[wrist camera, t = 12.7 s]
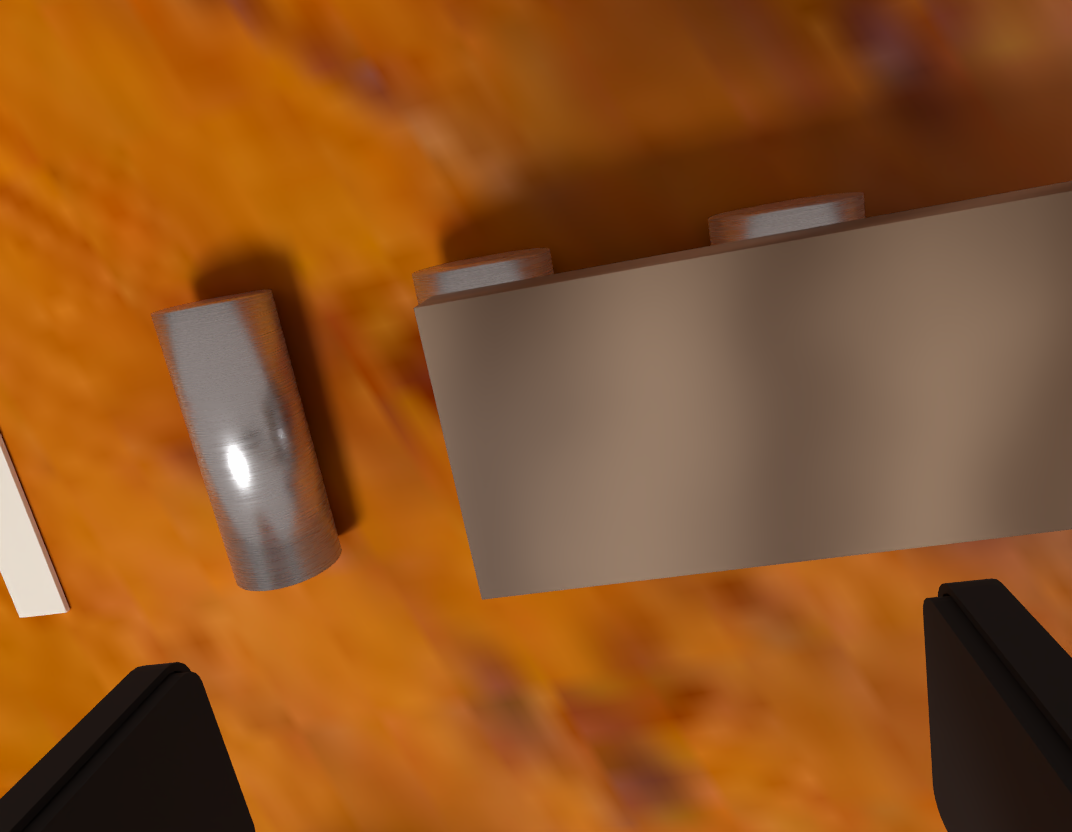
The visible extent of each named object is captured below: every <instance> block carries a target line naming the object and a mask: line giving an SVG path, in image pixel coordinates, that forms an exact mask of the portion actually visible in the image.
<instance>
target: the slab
mask: <svg viewBox="0 0 1072 832" xmlns="http://www.w3.org/2000/svg"><path fill="white" fill-rule="evenodd" d="M414 311H415V315H416V320H417V324H418V328H419V332H420V337H421V341H422V345H423V349H424V354H425V358H426V362H427V367H428V371H429V375H430V379H431V384H432V388H433V392H434V396H435V401H436V405H437V409H438V414H439V418H440V422H441V426H442V431H443V435H444V439H445V443H446V448H447V452H448V456H449V460H450V465H451V469H452V473H453V478H454V482H455V486H456V490H457V495H458V499H459V503H460V507H461V512H462V516H463V520H464V524H465V529H466V533H467V537H468V542H469V546H470V550H471V554H472V559H473V563H474V567H475V571H476V576H477V580H478V584H479V588H480V593H481V597H482V599H490V598H498V597H507V596H515V595H524V594H532V593H540V592H549V591H557V590H566V589H574V588H582V587H591V586H599V585H608V584H616V583H624V582H633V581H641V580H650V579H658V578H666V577H675V576H683V575H692V574H700V573H708V572H717V571H725V570H734V569H742V568H750V567H759V566H767V565H776V564H784V563H792V562H801V561H809V560H817V559H826V558H834V557H843V556H851V555H859V554H868V553H876V552H885V551H893V550H901V549H910V548H918V547H927V546H935V545H943V544H952V543H960V542H969V541H977V540H985V539H994V538H1002V537H1011V536H1019V535H1027V534H1036V533H1044V532H1053V531H1061V530H1069V529H1072V181H1068V182H1063V183H1057V184H1052V185H1046V186H1040V187H1035V188H1029V189H1024V190H1018V191H1013V192H1007V193H1002V194H996V195H990V196H985V197H979V198H974V199H968V200H963V201H957V202H952V203H946V204H940V205H935V206H929V207H924V208H918V209H913V210H907V211H901V212H896V213H890V214H885V215H879V216H874V217H868V218H863V219H857V220H851V221H846V222H840V223H835V224H829V225H824V226H818V227H813V228H808V229H802V230H796V231H791V232H785V233H779V234H774V235H768V236H763V237H757V238H751V239H746V240H740V241H735V242H729V243H724V244H718V245H713V246H707V247H701V248H696V249H690V250H685V251H679V252H674V253H668V254H662V255H657V256H651V257H646V258H640V259H635V260H629V261H624V262H618V263H612V264H607V265H601V266H596V267H590V268H585V269H579V270H574V271H568V272H562V273H557V274H551V275H546V276H540V277H535V278H529V279H524V280H518V281H512V282H507V283H501V284H496V285H490V286H485V287H479V288H474V289H468V290H462V291H457V292H451V293H446V294H440V295H435V296H431V297H430V298H428V299H427V300H425V301H424V302H422V303H421V304H419V305H418V306H416V307H415V308H414Z"/></svg>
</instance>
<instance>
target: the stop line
mask: <svg viewBox="0 0 1072 832" xmlns="http://www.w3.org/2000/svg"><path fill="white" fill-rule="evenodd" d="M0 571H1V574H2V576H3V579H4V581H5V583H6V586H7V588H8V590H9V593H10V595H11V598H12V600H13V602H14V605H15V607H16V609H17V612H18V614H19V617H20V618H21V617H30V616H40V615H49V614H58V613H67V612H68V611H69V610H70V608H69V606H68V603H67V600H66V598H65V595H64V593H63V590H62V588H61V585H60V583H59V580H58V578H57V575H56V573H55V570H54V568H53V565H52V563H51V560H50V558H49V555H48V553H47V550H46V547H45V545H44V542H43V540H42V537H41V535H40V532H39V530H38V527H37V525H36V522H35V520H34V517H33V515H32V512H31V510H30V507H29V505H28V502H27V500H26V497H25V494H24V492H23V489H22V487H21V484H20V482H19V479H18V477H17V474H16V472H15V469H14V467H13V464H12V462H11V459H10V457H9V454H8V452H7V449H6V447H5V444H4V441H3V439H2V436H1V434H0Z"/></svg>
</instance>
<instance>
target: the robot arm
mask: <svg viewBox="0 0 1072 832" xmlns="http://www.w3.org/2000/svg"><path fill="white" fill-rule="evenodd" d="M923 617H924V635H925V652H926V670H927V688H928V705H929V723H930V741H931V758H932V776H933V789H934V795H935V799H936V803H937V807H938V810H939V813H940V816H941V818H942V821H943V823H944V825H945V827H946V829H947V831H948V832H1072V658H1071V657H1070V656H1069V655H1068V653H1067V652H1066V651H1065V650H1064V649H1063V648H1062V647H1061V646H1060V645H1059V644H1058V643H1057V642H1056V641H1055V640H1054V638H1053V637H1052V636H1051V635H1050V634H1049V633H1048V632H1047V631H1046V630H1045V629H1044V628H1043V627H1042V626H1041V625H1040V623H1039V622H1038V621H1037V620H1036V619H1035V618H1034V617H1033V616H1032V615H1031V614H1030V613H1029V612H1028V611H1027V610H1026V608H1025V607H1024V606H1023V605H1022V604H1021V603H1020V602H1019V601H1018V600H1017V599H1016V598H1015V597H1014V596H1013V595H1012V594H1011V592H1010V591H1009V590H1008V589H1007V588H1006V587H1005V586H1004V585H1003V584H1002V583H1001V582H1000V581H998V580H997V579H983V580H974V581H964V582H954V583H944V584H942V585H941V586H940V587H939V591H938V597H934V598H926V599H925V600H924V604H923ZM0 832H255V828H254V824H253V821H252V818H251V816H250V813H249V810H248V807H247V805H246V802H245V799H244V796H243V793H242V791H241V788H240V785H239V782H238V780H237V777H236V774H235V771H234V769H233V766H232V763H231V760H230V758H229V755H228V752H227V749H226V746H225V744H224V741H223V738H222V735H221V733H220V730H219V727H218V724H217V722H216V719H215V716H214V713H213V711H212V708H211V705H210V702H209V699H208V697H207V694H206V691H205V688H204V686H203V683H202V681H201V679H200V677H199V676H198V675H197V674H196V673H194V672H191V671H190V669H189V668H188V667H187V666H186V665H185V664H183V663H179V662H175V663H165V664H156V665H146V666H140V667H137V668H135V669H134V670H133V671H131V672H130V673H129V674H128V675H127V676H126V677H125V678H124V679H123V680H122V681H121V682H120V683H119V684H118V685H117V686H116V687H115V688H114V689H113V690H112V691H111V692H109V693H108V694H107V695H106V696H105V697H104V698H103V699H102V700H101V701H100V702H99V703H98V704H97V705H96V706H95V707H94V708H93V709H92V710H91V711H90V712H89V713H88V714H87V715H86V716H85V717H84V718H83V719H82V720H81V721H80V722H79V723H78V724H77V725H76V726H75V727H74V728H73V729H72V730H71V731H70V732H69V733H68V734H66V735H65V736H64V737H63V738H62V739H61V740H60V741H59V742H58V743H57V744H56V745H55V746H54V747H53V748H52V749H51V750H50V751H49V752H48V753H47V754H46V755H45V756H44V757H43V758H42V759H41V760H40V761H39V762H38V763H37V764H36V765H35V766H34V767H33V768H32V769H31V770H30V771H29V772H28V773H27V774H26V775H25V776H23V777H22V778H21V779H20V780H19V781H18V782H17V783H16V784H15V785H14V786H13V787H12V788H11V789H10V790H9V791H8V792H7V793H6V794H5V795H4V796H3V797H2V798H1V799H0Z"/></svg>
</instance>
